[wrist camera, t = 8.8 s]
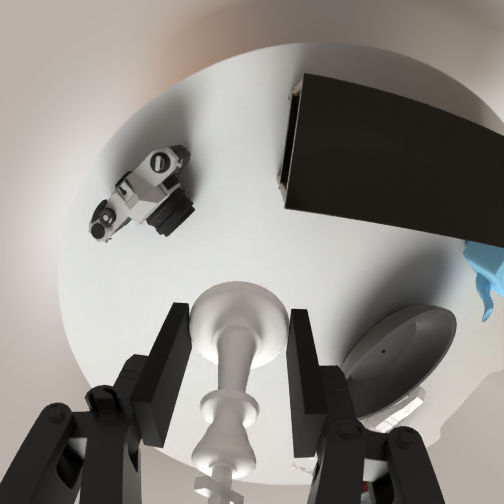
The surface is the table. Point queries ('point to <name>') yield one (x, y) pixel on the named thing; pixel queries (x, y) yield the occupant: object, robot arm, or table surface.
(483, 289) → the teapot
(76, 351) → the table surface
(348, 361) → the bowl
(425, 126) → the rack
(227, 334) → the chess piece
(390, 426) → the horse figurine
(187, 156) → the camera
